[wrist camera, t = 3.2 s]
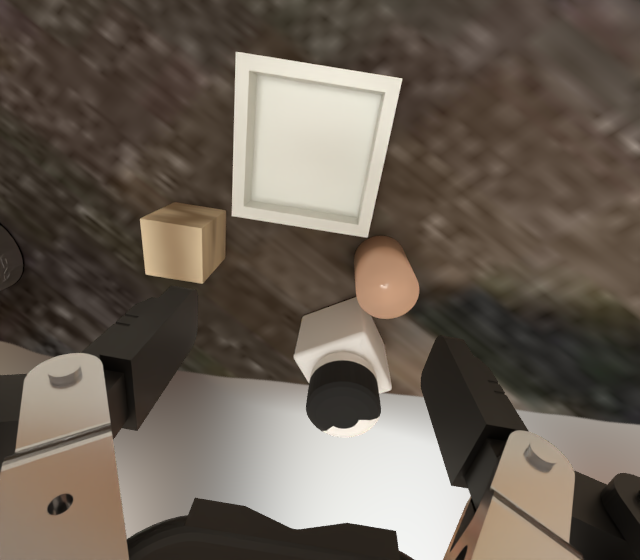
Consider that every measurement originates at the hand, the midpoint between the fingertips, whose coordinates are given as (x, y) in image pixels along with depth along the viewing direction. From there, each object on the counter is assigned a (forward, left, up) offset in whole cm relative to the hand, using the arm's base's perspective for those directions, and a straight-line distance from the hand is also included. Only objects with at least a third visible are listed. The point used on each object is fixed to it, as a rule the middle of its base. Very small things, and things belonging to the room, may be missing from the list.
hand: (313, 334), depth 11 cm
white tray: (-3, +4, -22) cm, 22 cm away
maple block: (-13, -5, -22) cm, 25 cm away
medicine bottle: (+3, -14, -22) cm, 26 cm away
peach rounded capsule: (+5, -5, -22) cm, 23 cm away
